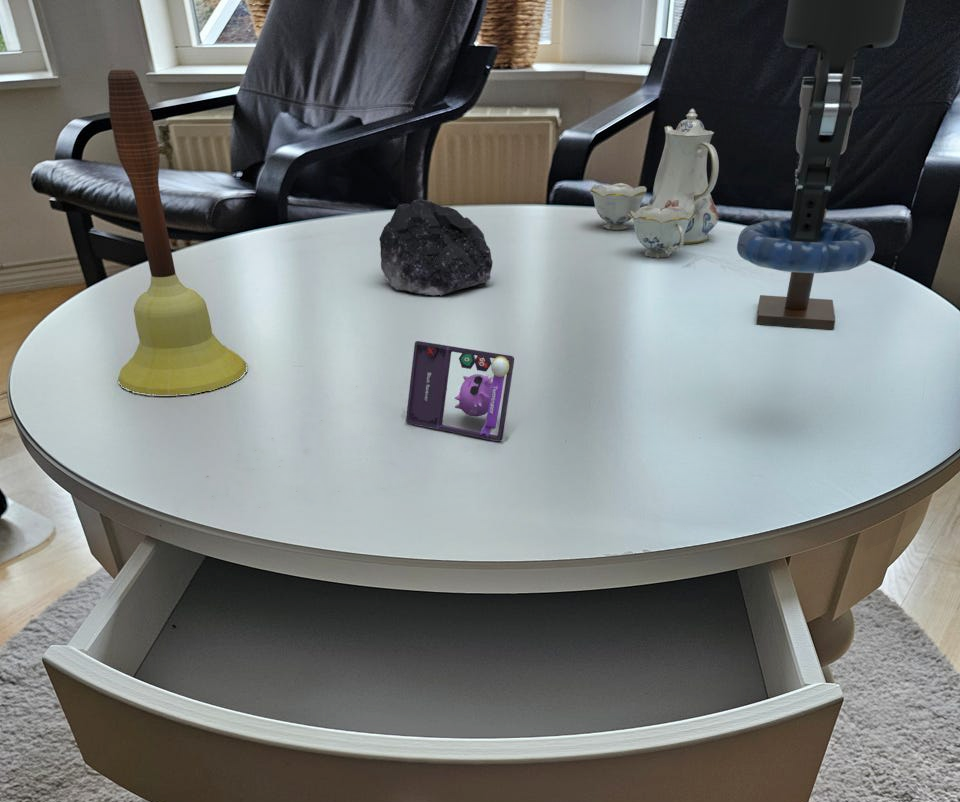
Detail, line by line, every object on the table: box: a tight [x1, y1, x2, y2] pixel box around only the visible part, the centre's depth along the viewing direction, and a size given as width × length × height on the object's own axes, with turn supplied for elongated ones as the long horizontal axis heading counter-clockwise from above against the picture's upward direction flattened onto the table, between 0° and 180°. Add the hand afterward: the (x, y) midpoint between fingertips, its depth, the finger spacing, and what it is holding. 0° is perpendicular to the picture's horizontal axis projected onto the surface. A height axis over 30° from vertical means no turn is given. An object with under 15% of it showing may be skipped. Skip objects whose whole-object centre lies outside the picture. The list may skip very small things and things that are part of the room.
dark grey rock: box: [379, 199, 494, 296], centre depth 111 cm, size 13×14×10 cm
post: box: [755, 208, 836, 331], centre depth 97 cm, size 8×8×11 cm
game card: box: [405, 340, 515, 442], centre depth 76 cm, size 7×5×9 cm
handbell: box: [107, 69, 247, 395], centre depth 81 cm, size 12×12×25 cm
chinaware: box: [589, 108, 720, 259], centre depth 127 cm, size 28×17×17 cm, turn 17°
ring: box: [736, 218, 875, 274], centre depth 67 cm, size 10×10×2 cm
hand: (803, 239), depth 70 cm, fingers closed on ring, 2 cm apart
